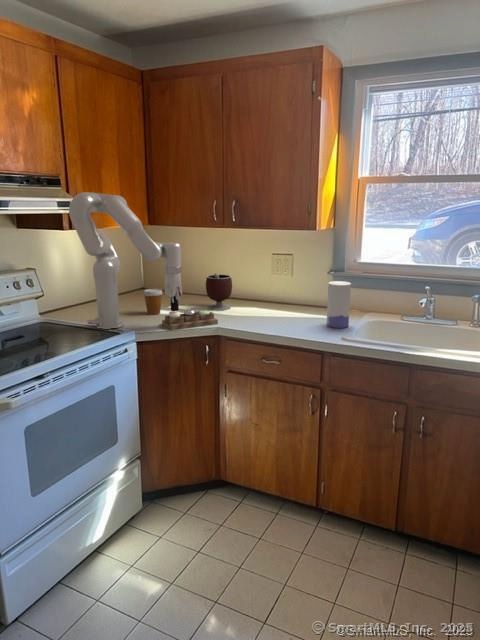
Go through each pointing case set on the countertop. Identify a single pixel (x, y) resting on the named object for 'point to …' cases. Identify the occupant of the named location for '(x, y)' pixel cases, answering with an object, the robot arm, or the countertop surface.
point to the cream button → (174, 314)
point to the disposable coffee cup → (153, 300)
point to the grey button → (189, 312)
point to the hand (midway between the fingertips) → (174, 310)
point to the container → (338, 304)
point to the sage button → (204, 312)
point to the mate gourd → (219, 290)
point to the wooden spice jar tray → (189, 321)
